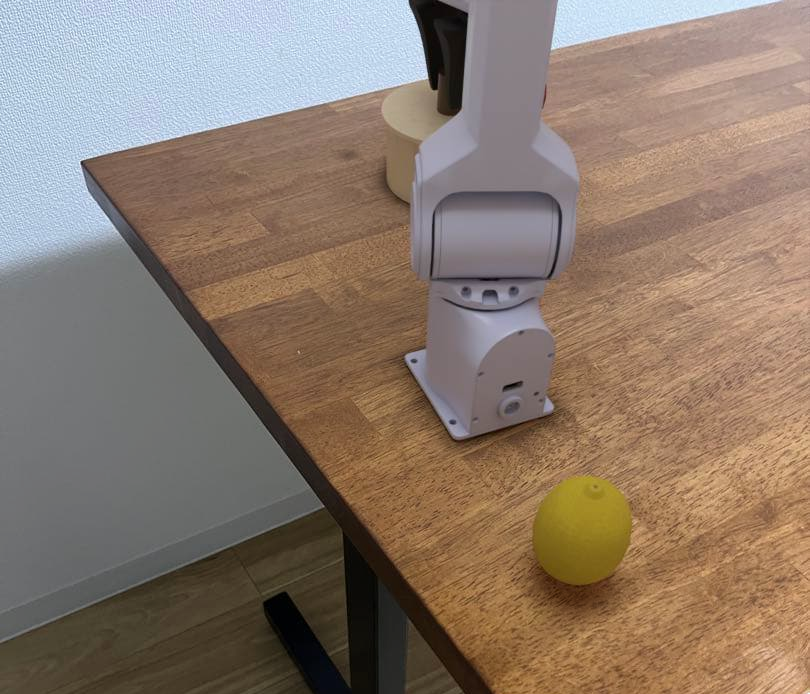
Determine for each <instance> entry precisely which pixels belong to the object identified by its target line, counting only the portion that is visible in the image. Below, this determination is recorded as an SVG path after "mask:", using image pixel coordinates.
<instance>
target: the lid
mask: <svg viewBox="0 0 810 694" xmlns="http://www.w3.org/2000/svg"><path fill="white" fill-rule="evenodd" d="M461 109H462V108H460V109H454V110H451V109H450V108H449V107H448V104H447V99H446V88H445V67H443V68H441V69H440V70H439V73H438V90H435V91H433V90H432V89H431V87H430V83H429V79H427V80H421V81H416V82H413V83H409V84H406V85H404V86H400V87H399V88H397V89H395V90H393V91H392V92H390V93H389V94H388V95H387V96H386V97H385V99H384V100H383V102H382V104H381V107H380V114H381V120H382V122H383V124H384V126H385V127H386V129H387V128H388V129H389V130H390V131H391V132H392V133H394V134H395V135H397V136H399V137H400V138H402V139H404V140H407V141H409V142H412V143H415V144H418V145H420V144H421V143H422V142H423V141H424V140H425V139H427V138H428V137H429V136H430V135H432V134H433V133H434V132H435V131H437V130H438V129H439V128H441V127H442V126H443V125H444V124H446V123H447V122H448V121H450V120H451V119H452V118H453V117H455V116H456V115H457V114H458V113H459V112H460V111H461Z"/></svg>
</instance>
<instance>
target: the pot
mask: <svg viewBox="0 0 810 694" xmlns="http://www.w3.org/2000/svg"><path fill="white" fill-rule="evenodd" d="M419 146H420V145H418V144H415V143H412V142H409V141H407V140H404V139H402V138H400V137H399V136H397V135H395V134H394V133H392V132H391V131H390V130H389V129H388V128H387V127H386V182H387V186H388V188H389V189H390V190H391V192H392V193H393V194H394V195H395V196H396V197H397V198H398V199H400V200H402V201H403V202H405V203H407V204H410V202H411V186H412V183H413V182H414V162H415V156H416V155H417V154H418V153H419Z"/></svg>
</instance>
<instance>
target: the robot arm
mask: <svg viewBox="0 0 810 694" xmlns="http://www.w3.org/2000/svg"><path fill="white" fill-rule="evenodd" d="M407 1H408V6H409V8H410V10H411V12H412V15H413V17H414V20H415V22H416V26H417V28H418V32H419V35H420V39H421V43H422V49H423V54H424V55H423V56H424V60H425V66H426V74H427V80H429V83H430V87H431V89H432V90H433V91H435V90H438V73H439V70H440V69H441V68H443V67H445V88H446V99H447V104H448V107H449V108H450V109H451V110H454V109H460V108H462V109H461V111H460V112H459V113H458V114H457V115H456V116H455V117H453V118H452V119H451V120H450V121H448V122H447V123H446V124H444V125H443V126H442V127H441V128H439V129H438V130H437V131H435V132H434V133H433V134H432V135H430V136H429V137H428V138H427V139H425V140H424V141H423V142H422V143H421V144H420V146H419V153H418V154H417V155H416V156H415V162H414V182H413V183H412V186H411V202H410V203H409V204H410V205H409V206H410V208H409V214H410V216H409V244H410V249H409V250H410V251H409V252H410V266H411V267H410V268H411V271H412V273H413V274H414V275H415V276H416V277H417V278H418V281H421V282H428V302H427V318H426V319H427V321H426V341H425V349H420V350H416V351H412V352H409V353H407V354H405V357H404V362H405V364H406V366H407V367H408V369H409V370H410V372H411V374H412V375H413V377H414V378H415V380H416V381H417V384H418V385H419V387H420V388H421V390H422V391H423V393H424V395H425V396H426V398H427V399H428V401H429V402H430V404H431V406H432V407H433V409H434V411H435V412H436V414H437V415H438V417H439V419H440V421H441V422H442V423H443V425H444V426H445V428H446V430H447V432H448V433H449V435H450V436H451V438H452V439H453V440H455V441H462V440H466V439H469V438H472V437H476V436H479V435H483V434H487V433H490V432H494V431H497V430H500V429H504V428H507V427H510V426H514V425H518V424H521V423H525V422H527V421H531V420H535V419H538V418H541V417H545V416H548V415H551V414H553V412H554V410H555V405H554V404H553V403H552V401H551V400H550V398H549V397H548V396H547V395H548V390H549V387H550V382H551V377H552V372H553V367H554V363H555V358H556V351H557V345H556V340H555V337H554V336H553V334H552V332H551V330H550V329H549V328H548V326H547V324H546V322H545V319H544V317H543V314H542V311H541V307H540V301H539V297H544V296H545V294H546V293H545V292H546V287H547V281H557V280H558V279H560V278H561V277H562V275H563V273H564V272H565V271H566V270H567V269H568V268H569V266H570V263H571V260H572V257H573V253H574V248H575V243H576V234H577V221H578V220H577V217H578V216H577V215H578V213H577V211H578V210H577V209H578V208H577V205H578V197H579V191H580V186H581V184H580V183H581V181H580V180H581V179H580V172H579V168H578V165H577V162H576V159H575V155H574V152H573V151H572V148H571V146H570V145H569V144H568V143H567V141H565V140H564V139H563V138H562V137H561V136H560V135H559V134H558V133H557V132H556V131H554V130H553V128H551V127H550V126H549V125H548V124H547V123H545V122H544V121H543V120H542V113H543V109H542V107H543V100H544V93H545V86H546V85H547V78H548V73H549V64H550V59H551V52H552V51H551V50H552V44H553V37H554V32H555V31H554V30H555V23H556V16H557V10H558V3H559V0H407ZM543 108H544V107H543Z"/></svg>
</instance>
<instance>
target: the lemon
mask: <svg viewBox="0 0 810 694" xmlns="http://www.w3.org/2000/svg"><path fill="white" fill-rule="evenodd" d="M632 529H633V517H632V513H631V508H630V505H629V503H628V501H627V499H626V497H625V495H624V494H623V492H622V491H621V490H620V489H619V488H618V487H617V486H616V485H614V484H613V483H612V482H610V481H609V480H606V479H605V478H601V477H598V476H595V475H578V476H577V475H576V476H572V477H569V478H566V479H564V480H562V481H560V482H559V483H558V484H557V485H555V486H554V487H552V488H551V490H550V491H549V493H547V495H546V496H545V497H544V499H542V501H541V503H540V505H539V507H538V509H537V511H536V514H535V516H534V520H533V523H532V533H531V542H532V543H531V544H532V548H533V551H534V556H535V557H536V560H537V562H538V563H539V564H540V566H541V568H542V569H543V570H544V571H545V572H546V573H547V574H548V575H549V576H551V577H552V578H553V579H555V580H557V581H560V582H561V583H562V582H563V583H564V584H568V585H574V586H586V585H590V584H594V583H597V582H599V581H601V580H604V579H605V578H606V577H608V576H610V574H611V573H613V572H614V570H616V568H617V567H619V565H620V564H621V563H622V561H623V559H624V557H625V555H626V554H627V552H628V549H629V546H630V543H631V538H632V537H631V536H632Z"/></svg>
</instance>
